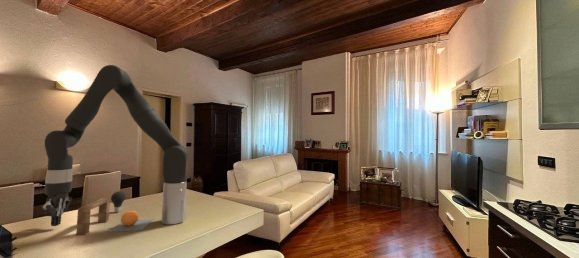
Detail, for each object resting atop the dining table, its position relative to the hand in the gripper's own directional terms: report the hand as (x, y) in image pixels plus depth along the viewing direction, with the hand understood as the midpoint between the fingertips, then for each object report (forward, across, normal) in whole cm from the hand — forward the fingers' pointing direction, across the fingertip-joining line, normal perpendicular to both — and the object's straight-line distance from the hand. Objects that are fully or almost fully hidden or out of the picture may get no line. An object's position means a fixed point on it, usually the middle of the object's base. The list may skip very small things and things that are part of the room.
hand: (55, 225), depth 89 cm
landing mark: (+2, 0, -27) cm, 27 cm away
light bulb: (+2, +20, -12) cm, 23 cm away
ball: (-2, 0, -26) cm, 26 cm away
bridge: (+2, 0, -13) cm, 13 cm away
